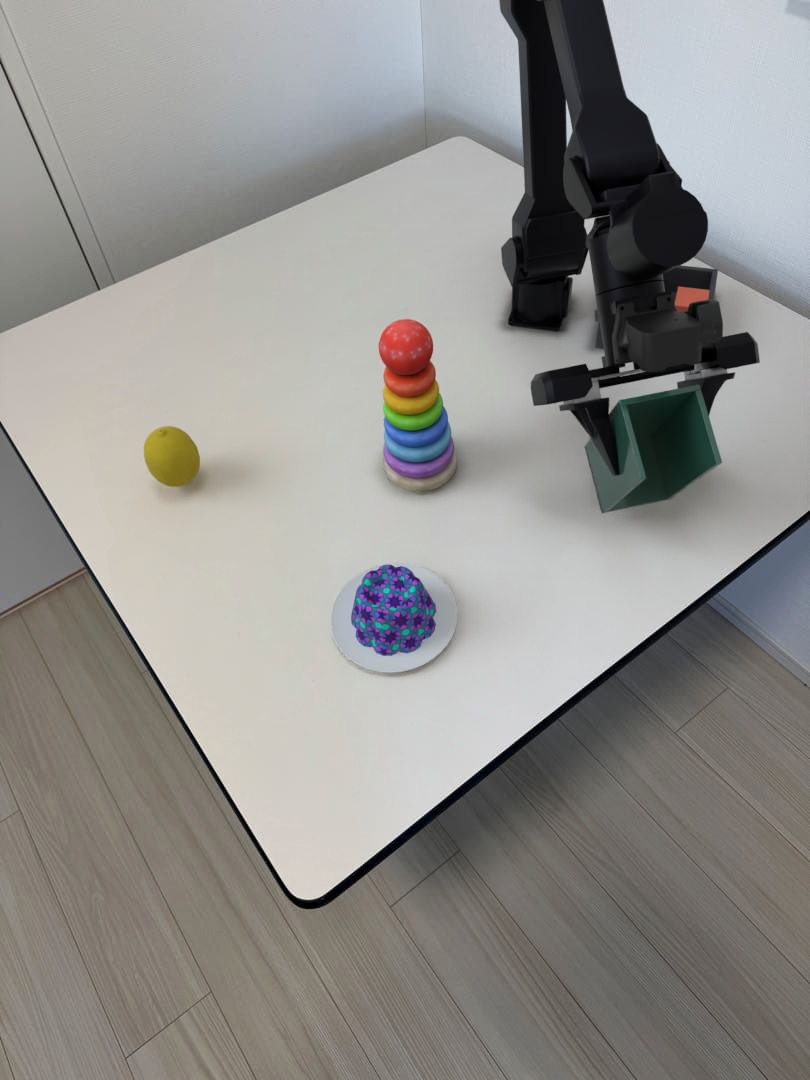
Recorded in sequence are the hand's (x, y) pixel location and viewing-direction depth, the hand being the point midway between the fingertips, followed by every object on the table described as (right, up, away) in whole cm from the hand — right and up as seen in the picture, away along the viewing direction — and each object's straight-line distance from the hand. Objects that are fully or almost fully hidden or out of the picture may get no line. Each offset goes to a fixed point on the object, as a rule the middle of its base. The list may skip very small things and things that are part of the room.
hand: (655, 467), depth 73 cm
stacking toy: (-21, +1, +16) cm, 26 cm away
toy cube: (+11, +20, +25) cm, 34 cm away
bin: (+8, +20, +27) cm, 34 cm away
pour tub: (0, 0, +8) cm, 8 cm away
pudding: (-23, -14, +5) cm, 28 cm away
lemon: (-47, 0, +17) cm, 50 cm away
